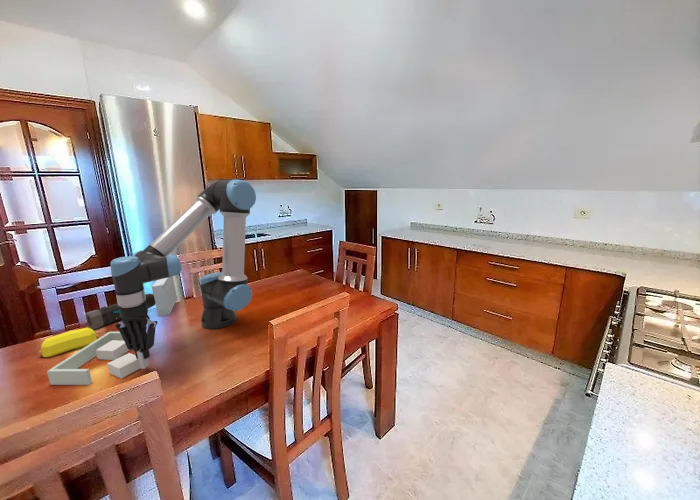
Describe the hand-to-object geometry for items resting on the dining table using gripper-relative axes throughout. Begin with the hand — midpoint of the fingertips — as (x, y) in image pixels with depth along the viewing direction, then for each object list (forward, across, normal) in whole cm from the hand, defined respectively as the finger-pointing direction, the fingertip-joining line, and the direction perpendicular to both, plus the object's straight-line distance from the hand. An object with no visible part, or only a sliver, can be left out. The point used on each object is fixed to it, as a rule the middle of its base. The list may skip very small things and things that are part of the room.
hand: (144, 366), depth 104 cm
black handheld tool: (+2, +37, -42) cm, 56 cm away
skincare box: (+2, +23, -52) cm, 57 cm away
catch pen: (+2, +19, -5) cm, 20 cm away
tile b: (+2, +7, 0) cm, 7 cm away
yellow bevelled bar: (+2, +39, -14) cm, 42 cm away
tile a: (+2, +18, -10) cm, 21 cm away
